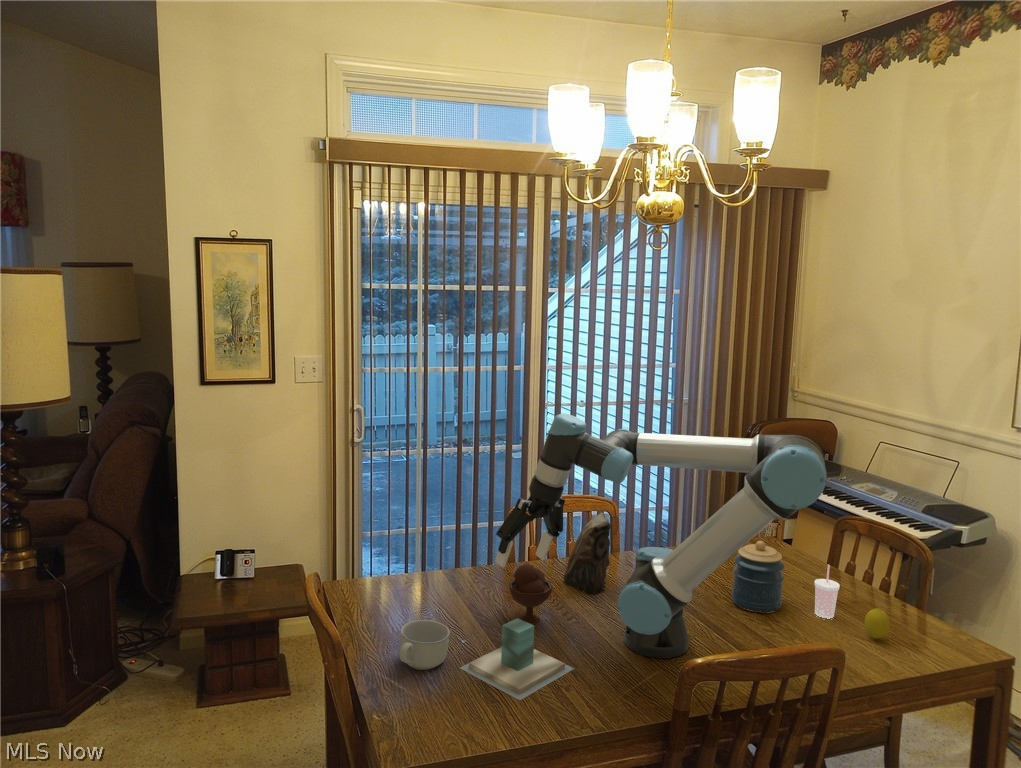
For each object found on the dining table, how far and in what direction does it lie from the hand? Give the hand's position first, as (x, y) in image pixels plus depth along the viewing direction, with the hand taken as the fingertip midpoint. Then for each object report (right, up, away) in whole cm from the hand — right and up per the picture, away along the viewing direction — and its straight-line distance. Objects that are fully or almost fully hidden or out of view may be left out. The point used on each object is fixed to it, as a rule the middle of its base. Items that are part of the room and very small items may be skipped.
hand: (520, 560), depth 177 cm
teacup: (-22, -21, -9) cm, 32 cm away
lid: (-1, -21, -10) cm, 24 cm away
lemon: (+88, -22, +9) cm, 91 cm away
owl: (+19, -16, +38) cm, 46 cm away
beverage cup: (+80, -20, +22) cm, 85 cm away
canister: (+64, -18, +28) cm, 72 cm away
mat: (-1, -22, -10) cm, 24 cm away
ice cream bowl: (+2, -19, +14) cm, 24 cm away
